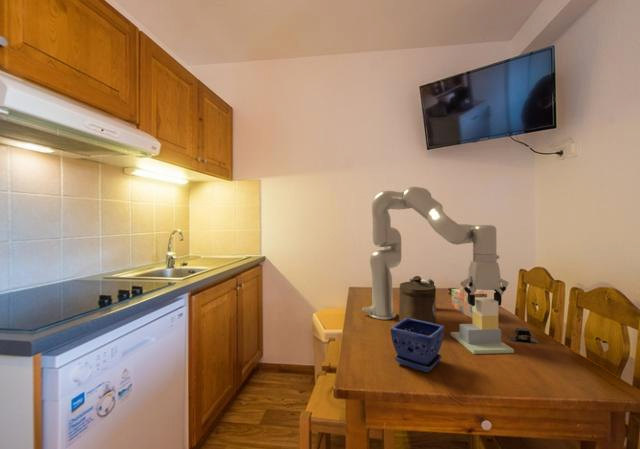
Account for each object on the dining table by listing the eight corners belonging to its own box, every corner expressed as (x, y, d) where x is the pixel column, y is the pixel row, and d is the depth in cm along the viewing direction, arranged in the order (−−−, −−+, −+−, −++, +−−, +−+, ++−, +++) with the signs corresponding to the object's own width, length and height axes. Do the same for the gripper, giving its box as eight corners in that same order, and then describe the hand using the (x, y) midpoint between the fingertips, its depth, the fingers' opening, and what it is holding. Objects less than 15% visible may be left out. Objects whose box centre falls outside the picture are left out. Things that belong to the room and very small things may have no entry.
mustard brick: (481, 329, 102) (481, 315, 102) (472, 323, 108) (472, 310, 108) (498, 329, 102) (498, 315, 102) (488, 323, 108) (487, 310, 108)
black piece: (537, 339, 109) (538, 327, 109) (546, 347, 102) (547, 334, 102) (501, 335, 113) (501, 324, 113) (507, 343, 106) (507, 331, 106)
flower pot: (406, 350, 100) (406, 316, 100) (445, 361, 92) (445, 324, 92) (389, 364, 90) (389, 327, 90) (432, 379, 82) (432, 338, 82)
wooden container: (443, 332, 116) (443, 278, 116) (410, 336, 113) (410, 280, 112) (423, 320, 130) (422, 272, 130) (393, 323, 127) (392, 274, 127)
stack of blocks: (451, 306, 151) (451, 283, 151) (462, 306, 151) (462, 282, 151) (474, 320, 130) (473, 293, 130) (487, 319, 130) (487, 293, 130)
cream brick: (472, 310, 108) (472, 297, 108) (487, 310, 108) (487, 297, 108) (482, 315, 102) (481, 302, 102) (498, 315, 102) (498, 301, 102)
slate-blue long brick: (468, 344, 102) (468, 330, 102) (459, 337, 108) (459, 324, 108) (501, 343, 102) (501, 329, 102) (490, 336, 108) (490, 323, 108)
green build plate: (473, 353, 97) (473, 350, 97) (450, 335, 113) (450, 332, 113) (513, 352, 97) (513, 349, 97) (485, 334, 113) (485, 331, 113)
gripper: (500, 256, 109) (500, 301, 109) (456, 257, 108) (456, 302, 108) (514, 259, 101) (514, 307, 101) (466, 260, 101) (467, 308, 101)
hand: (484, 304), depth 105 cm, fingers open, 9 cm apart
